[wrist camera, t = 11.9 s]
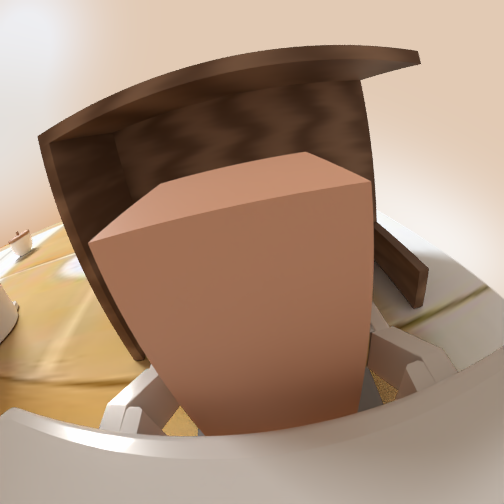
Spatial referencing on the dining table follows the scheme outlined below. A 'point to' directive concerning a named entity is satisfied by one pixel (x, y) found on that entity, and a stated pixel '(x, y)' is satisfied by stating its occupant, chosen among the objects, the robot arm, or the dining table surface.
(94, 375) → the dining table surface
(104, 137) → the cubby
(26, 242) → the lidded jar
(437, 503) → the robot arm
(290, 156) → the block
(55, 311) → the dining table surface
